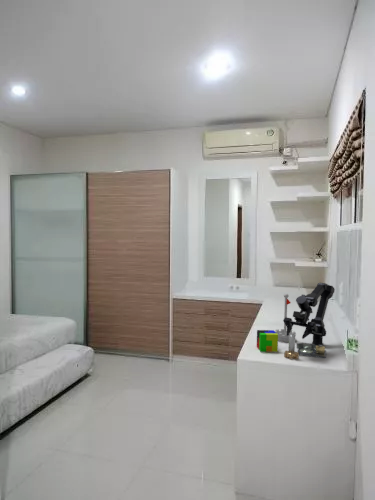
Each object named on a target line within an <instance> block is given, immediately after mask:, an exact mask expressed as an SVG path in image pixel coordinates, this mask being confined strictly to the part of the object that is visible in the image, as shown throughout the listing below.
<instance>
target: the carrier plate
mask: <svg viewBox="0 0 375 500" xmlns="http://www.w3.org/2000/svg"><path fill="white" fill-rule="evenodd" d="M296 349H297V352H298V353H299V356H304V357H305V356H307V357H312V358H321V359H326V357H327V350H326V347H325V345H323V346H322V345H314V344H312V343H310V342H309V343H308V342H297V343H296Z"/></svg>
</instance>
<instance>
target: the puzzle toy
mask: <svg viewBox="0 0 375 500" xmlns="http://www.w3.org/2000/svg"><path fill="white" fill-rule="evenodd" d="M256 348H257V349H258V351H260V353H261V352H263V353H266V352H270V353H272V352H273V353H275V352H277V353H278V352H279V351H278V348H279V341H278V334H277V333H276V332H275V330H274V329H273V330H272V329H271V330H270V329H267V330H266V329H257V330H256Z"/></svg>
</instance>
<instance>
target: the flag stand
mask: <svg viewBox="0 0 375 500" xmlns="http://www.w3.org/2000/svg"><path fill="white" fill-rule="evenodd" d="M283 297H284V314H283V315H284V316H283V317H284V318H285V317H287V318H288V305H289V304H291V303H292V302H291V301H290V300H289V298H288V297H289V294H288V293H284V294H283ZM284 318H283V319H284ZM283 324H284V326H283V328H281V329H275V330H274V331H275V332H276V333H277V334H278V342H281V343H289V335H295V337H296V335H297V334H296V331H294V330H291V332H290V333H289V335H288V336H287V326H286V325H285V323H284V322H283Z"/></svg>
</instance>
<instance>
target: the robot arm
mask: <svg viewBox="0 0 375 500" xmlns="http://www.w3.org/2000/svg"><path fill="white" fill-rule="evenodd" d="M335 290H336V289H335V287H334V286H333V285H330V284H328V283H326V282H317V285H316V287H315V288H314V289H313V290H312V291H311V293H308V294H306V295H305V294H301V295H300V296H298V297H296V298H295V302H296V304H297V306H298V308H299V309H300V311H296V310H294V311H293V313H292V318H294V320H293V319H292V318H291V317H288V316H287V317H285V318H283V320H282V322H283V324H284V323H285V325H286V331H287V336H288V335H289V333H290V332H291V330H292V329H293V326H298V327H303V328H305V330H304V332H303V334H302V337H301V338H302V340H304V339H305V338H306V337H308V336H309V335H312V341H311V344H314V345H322V346H324V342H323V338H324V337H326V336H327V330H326V328H325V323H324V322H325V321H324V319H325V315H326V311H327V309H328V308H327V306H328V303H329V300H330V299H331V298H332V297H333V296H334V294H335ZM319 298H320V299H319ZM318 299H319V300H318ZM317 305H318V307H317V310H316V314H315V317H314V318H311V320H310V315H311V314H313V308H315V307H316V306H317ZM292 331H293V330H292Z"/></svg>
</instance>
